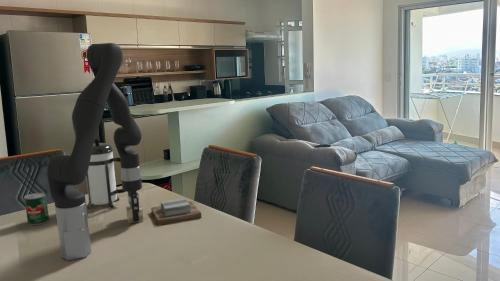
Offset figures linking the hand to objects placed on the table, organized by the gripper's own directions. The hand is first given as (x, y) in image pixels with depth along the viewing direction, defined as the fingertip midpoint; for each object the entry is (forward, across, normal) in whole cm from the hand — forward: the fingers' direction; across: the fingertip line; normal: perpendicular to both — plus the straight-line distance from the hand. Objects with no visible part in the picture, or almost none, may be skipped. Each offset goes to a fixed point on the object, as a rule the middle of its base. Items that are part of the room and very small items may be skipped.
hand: (135, 218), depth 172 cm
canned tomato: (+1, +17, +36) cm, 40 cm away
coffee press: (+1, +27, +9) cm, 28 cm away
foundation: (+1, -2, -16) cm, 16 cm away
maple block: (+1, 0, 0) cm, 1 cm away
